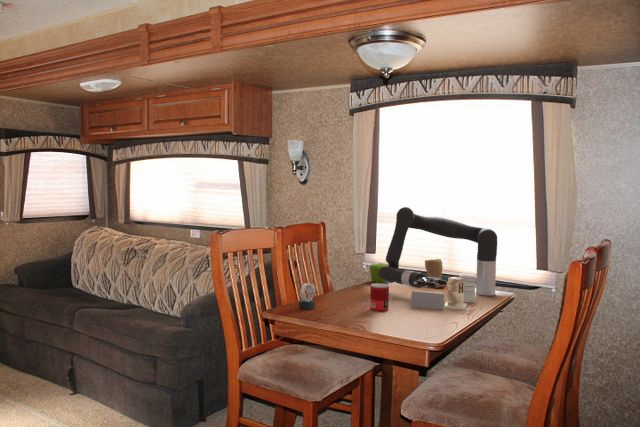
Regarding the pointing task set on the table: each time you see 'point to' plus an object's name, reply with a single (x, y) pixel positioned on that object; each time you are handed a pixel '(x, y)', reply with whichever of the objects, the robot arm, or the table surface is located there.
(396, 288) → the table surface
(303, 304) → the snow globe
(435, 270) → the tan boot
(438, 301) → the screen
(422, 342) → the table surface
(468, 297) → the supplement box
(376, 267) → the apple
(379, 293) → the canned food
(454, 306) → the mat
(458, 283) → the marked block
